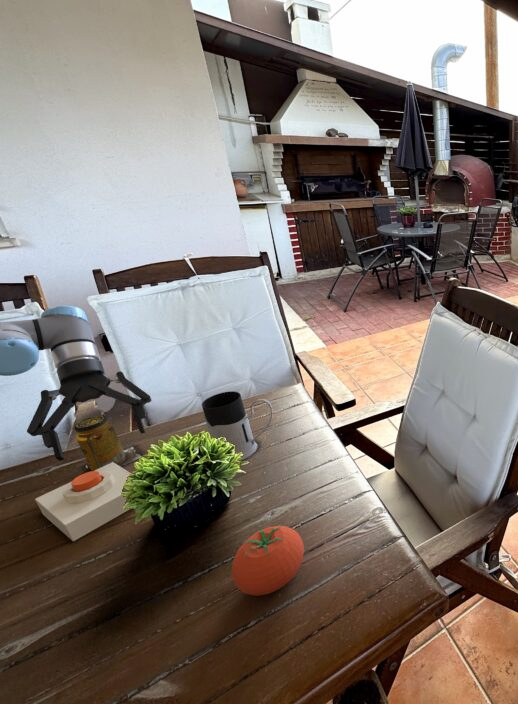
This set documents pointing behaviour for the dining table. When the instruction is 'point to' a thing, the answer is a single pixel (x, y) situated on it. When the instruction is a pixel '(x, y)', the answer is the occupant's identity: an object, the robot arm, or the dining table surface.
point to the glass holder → (231, 421)
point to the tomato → (267, 560)
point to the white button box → (86, 503)
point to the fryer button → (86, 481)
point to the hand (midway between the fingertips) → (103, 444)
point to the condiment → (100, 443)
